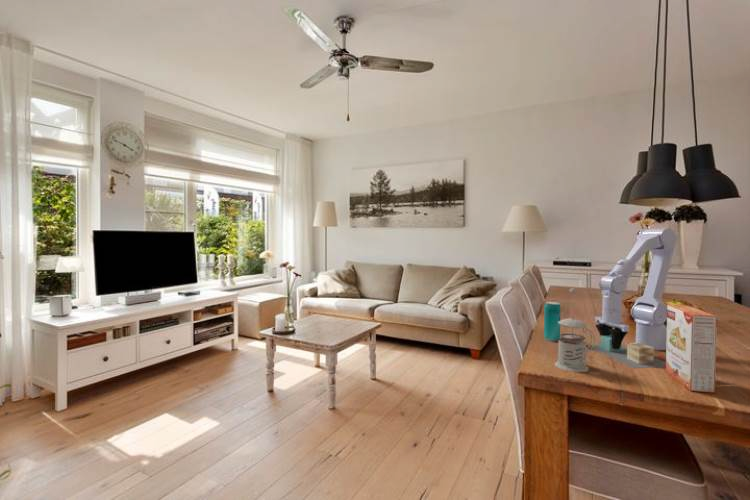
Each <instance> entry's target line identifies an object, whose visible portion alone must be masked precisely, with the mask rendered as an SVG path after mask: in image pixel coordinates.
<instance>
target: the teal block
mask: <svg viewBox="0 0 750 500" xmlns="http://www.w3.org/2000/svg"><path fill="white" fill-rule="evenodd" d="M600 345H601V348H602V349H604V350H607V351H609V352H614V351H621V346H620V349H613V347H612V338H611V334H610V335H605V336H600Z"/></svg>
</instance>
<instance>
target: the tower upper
mask: <svg viewBox="0 0 750 500" xmlns="http://www.w3.org/2000/svg"><path fill="white" fill-rule="evenodd" d="M635 343H636V342H635ZM626 347H627V351H628V352H631V353H633V354H635V355H638V356H654V354H655V352H654V351H655V350H654V348H653V347H650V346H647V345H645V344H642V343H636V344H630V343H627V345H626Z"/></svg>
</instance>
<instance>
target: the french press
mask: <svg viewBox="0 0 750 500" xmlns="http://www.w3.org/2000/svg"><path fill="white" fill-rule="evenodd" d="M569 292H570V293H577V289H576V288H573V287H572V288H570V289H569ZM571 309H572V314H571V315H572V316H571V318H564V319H560V321H559V322H558V323H559V325H560V327H565V328H568V329H569V328H571V333H569V332H565V333H560V338H559V340H558V349H557V351H558V352H557V353H558V354H557V361H556V362H554V366H555V367H556V368H558V369H560V370H563V371H566V372H567V371H568V372H571V373H572V372H574V373H585V372H588V371H589V370H590V368H589V367H588V366H587V363H586V362H587V353H588V352H589V351H591V350H593V349H592V348H593V346H595V345H596V336H595V334H594V332H593V331H592V330H591V329H589V328H587V327H588V324H587V323H585V322H584V321H582V320H581V319H580V320H579V319H577V318H574V304H572V308H571ZM574 329H582V332H583V333H584V334H586V333H587V331H588V332H589V334H590V343H589V345H587V342H586V341H585V339H586V337H585V336H584V335H581V334H579V333H578V334H577V333H574V331H573V330H574ZM584 330H585V331H584ZM571 342H573V343H571ZM592 342H593V345H592ZM587 346H588V347H587ZM590 346H592V348H590V349H589V347H590Z"/></svg>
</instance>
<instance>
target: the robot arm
mask: <svg viewBox="0 0 750 500" xmlns="http://www.w3.org/2000/svg"><path fill="white" fill-rule="evenodd" d="M677 239H678V236H677V234H676V232H675V230H673V229H672V228H670V227H669V228H667V227H665V228H643V229H641V230H640V231H639V232H638V234H637V235H636V242H635V244H634V246H633V247H632V249H631V250H630V252H629V253H628V254H627V256H626V257H625V259H619V260H618V261H617V262H616V264H615V265H614V267H613V268H612V269H611V270H610V272H609V273H608V274H607V275H604V276H602V277H601V278H600V281H599V282H598V287H599V289H600V290H601V292H600V293H601V295H602V306H601V307H602V308H601V314H602V315H601V316H595V317H594V322H595V323H598V324H595V328H596V329H597V331H598V333H599V336H600V337H601V336H605V335H611V338H612V347H613V349H620V346H621V345H622V344H623V340H624V338H625V337H626V336H627V334H628V333H629V332H630V326H629V325H627V324H625V323H624V322H622V295H623V294H622V293H623V292H624V291H626V289H627V286H628V285H627V284H628V282H629V280H628V279H630V277H631V276H632V275H633V274H634V273H635V271H636V269H637V266H636V264H637V263H638V262H639V261H640V260H641V259H642V257H643V256H644V255H645V254H646V253H647V252H650V253H651V254H652V255H653V257H652V260H651V265H650V269H649V273H648V277H647V279H646V283H645V287H644V292H643V295H641V296H640V297H638V298H636V299H635V303H634V305H632V307H631V309H630V315H631V317H632V318H633V319H634V320H633V321H634V322H635V325H636V326H635V342H629V344H636V343H642V344H645V345H647V346H650V347H653V348H654V351H666V343H667V325H666V324H665V322H667V305H668V304H666V303H665V302H664V301H663V300H662V297H663V294H664V291H665V288H666V287H665V286H666V283H667V279H668V275H669V270H670V268H671V264H672V261H673V256H674V252H675V247H676V243H677Z"/></svg>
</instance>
